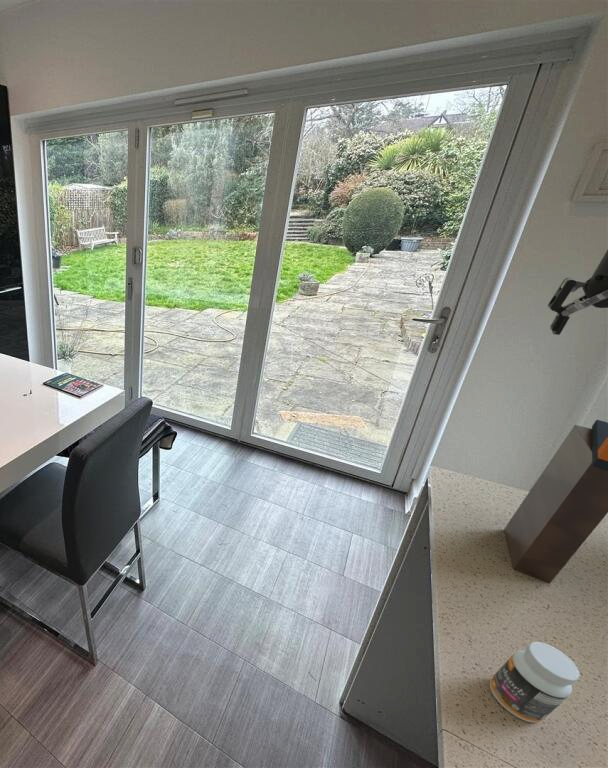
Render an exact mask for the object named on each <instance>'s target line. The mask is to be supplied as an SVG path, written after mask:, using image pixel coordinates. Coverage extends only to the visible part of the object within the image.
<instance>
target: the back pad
mask: <svg viewBox="0 0 608 768" xmlns="http://www.w3.org/2000/svg"><path fill="white" fill-rule="evenodd" d="M591 429H592V466H594V467H597V468H600V469H603V470H606V471H608V422H607V421H603V420H600V419H596V420H595V421H594V422H593V424H592V425H591Z"/></svg>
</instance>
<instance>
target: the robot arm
mask: <svg viewBox="0 0 608 768" xmlns="http://www.w3.org/2000/svg"><path fill="white" fill-rule="evenodd" d="M580 288H582V290H583V293H584V294H582V295H581V296H579V297H577V298H575V299H573V300H572V301H571V302H569V303H568V304H565V305H563V304H564V302H565V301H566V300H567V298H568V297H569V295H570V293H574V292H576V291H577V290H578V289H580ZM590 306H592V307H595V308H597V309H608V249H606V251H605V253H604V255H603V257H602V258H601V260H600V261H599V263H598V265H597V267H596V268H595V270H594V272H593V274H592V275H591V277H590V278H589V279H587V280H586V281H585V280H577V279H573V278H572V277H566V278H564V279H563V280H562V281H561V284H560V285H559V286H558V288H557V290H556V292H555V293H554V294H553V295H552V298H551V299H550V300H549V302H548V304H547V307H548V309H550V310H551V311H552V312H555V313H556V315H555V318H553V321H552V322H551V324H550V327H549V329H550V330H551V333H552V334H553V335H556V336H560V335H561V333H562V332H563V330H564V328H565V327H566V325H567V324H568V321H569V319H570V318H571V317H570V315H572V314H574V313H577V312H578V311H581V310H585V309H587V308H588V307H590Z"/></svg>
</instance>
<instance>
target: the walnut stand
mask: <svg viewBox="0 0 608 768" xmlns="http://www.w3.org/2000/svg"><path fill="white" fill-rule="evenodd" d="M607 515H608V471H606V470H603V469H600V468H597V467H594V466H592V428H590V427H586V426H582V425H577V424H574V425H573V427H572V428H571V429H570V431H569V432H568V434H567V435H566V437H565V438H564V440H563V441H562V443H560V446H559V447H558V449H557V450H556V452H555V453H554V454H553V456H552V458H551V459H550V460H549V462H548V464H547V465H546V467H545V468H544V469H543V471H542V472H541V474H540V475H539V477H538V478H537V480H536V481H535V483H534V484H533V485H532V487H531V488H530V490H529V492H528V493H527V494H526V496H525V497H524V499H523V500H522V502H521V503H520V505H519V506H518V507H517V509H516V510H515V512H514V514H513V515H512V516H511V518H510V520H509V521H508V522H507V524H506V526H505V527H504V529H503V531H504V535H505V540H506V543H507V548H508V552H509V556H510V560H511V565H512V569H513V570H515V571H517V572H520V573H523V574H525V575H528V576H529V577H531V578H532V577H533V578H535V579H538V580H540V581H543V582H546V583H548V584H551V583H552V582H553V580H554V579H555V578H556V577H557V576H558V575H559V573H560V572H561V571H562V569H563V568H564V567H565V566H566V565H567V563H568V562H569V561H570V560H571V558H572V557H573V556H574V555H575V554H576V552H577V551H578V550H580V549H579V548H580V547H581V546H582V545H583V544H584V543H585V541H587V539H588V538H589V536H591V534H592V533H593V531H594V530H595V529H596V528H597V527H598V525H599V524H600V523H601V522H602V521H603V519H604V518H605V517H606V516H607Z"/></svg>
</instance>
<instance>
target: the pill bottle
mask: <svg viewBox="0 0 608 768" xmlns="http://www.w3.org/2000/svg"><path fill="white" fill-rule="evenodd" d="M580 677H581V676H580V671H579V668H578V667H577V665H576V664H575V662H574V661H572V660H571V659H570V657H568V656H567V655H566V654H565V653H564V652H562V651H561V650H560V649H557V648H556V647H554V646H552V645H550V644H548V643H545V642H541V641H533V642H530V643H529V644H528V645H527V646H526V647H525V648H524V649H520V650H517V651H515V652H514V653H512V654H511V656H510V657H508V659H507V660H506V662H504V663H503V665H501V667H500V668H499V669H498V670H497V671H496V672H495V673H494V674H493V675H492V677H491V678H490V680H489V688H490V691H491V694H492V695H493V697H494V698H495V700H496V701H497V702H498V703H499V704H500V705H501V706H502V707H503V708H504V709H505V710H506V711H507V712H508V713H510V714H511V715H513V716H514V717H516V718H519V719H520V720H522V721H525V722H528V723H540V722H542V721H543V720H545V719H546V718H547V717H548V716H549V715H550V714H551V713H552V712H554V710H556V709H557V708H558V707H559V706H560V705H562V704H563V703H564V702H565V700H567V698H569V697H570V696H571V694H572V692H573V685H574V684H575V683H576V682H577V681H579V678H580Z"/></svg>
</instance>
